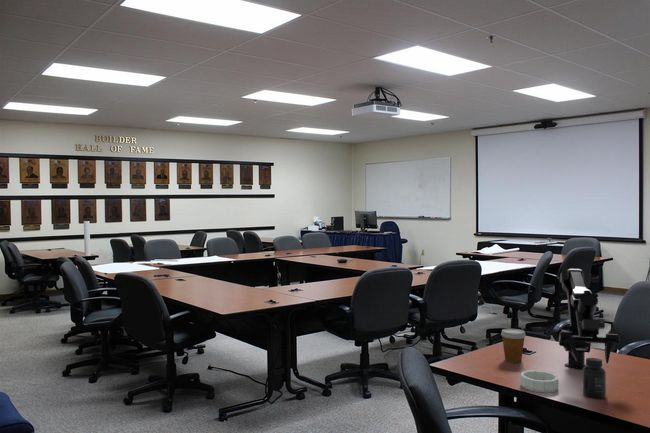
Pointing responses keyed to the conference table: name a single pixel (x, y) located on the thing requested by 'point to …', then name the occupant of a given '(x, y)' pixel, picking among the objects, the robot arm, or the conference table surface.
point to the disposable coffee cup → (513, 344)
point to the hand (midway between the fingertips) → (592, 361)
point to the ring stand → (539, 381)
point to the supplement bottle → (594, 379)
